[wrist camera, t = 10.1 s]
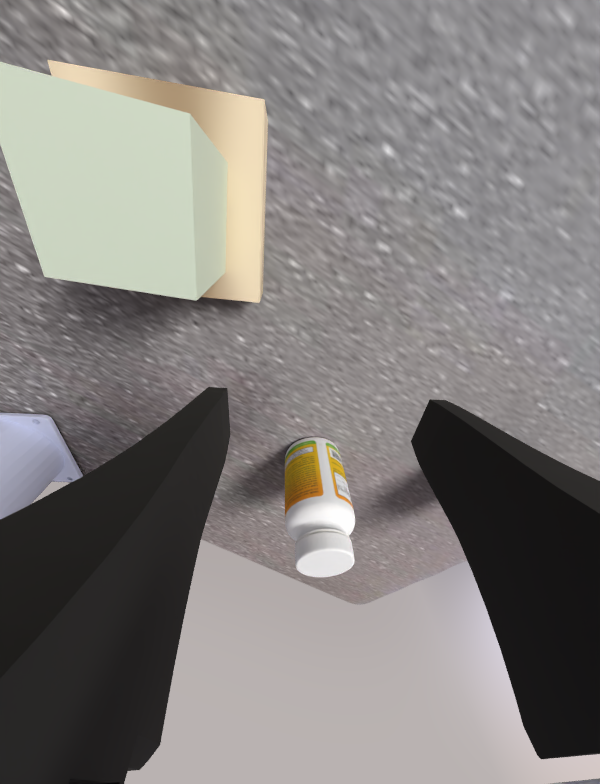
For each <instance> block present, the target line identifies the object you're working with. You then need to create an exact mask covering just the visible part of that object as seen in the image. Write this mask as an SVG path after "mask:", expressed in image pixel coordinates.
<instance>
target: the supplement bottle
mask: <svg viewBox="0 0 600 784" xmlns="http://www.w3.org/2000/svg"><path fill="white" fill-rule="evenodd" d="M285 525H286V529H287V532H288V534H289V535H290V537H291V538H292V539H293V540H295V541H296V543H295V563H296V568H297V570H298V571H299V572H300V573H302V574H304V575H307V576H312V577H329V576H334V575H338V574H341V573H343V572H345V571H347V570H349V569H350V568H351V567H352V566H353V564H354V553H353V548H352V542H351V540H350V538H349V535H350V534H351V532H352V531H353V529H354V526H355V515H354V510H353V506H352V502H351V498H350V494H349V489H348V485H347V481H346V477H345V473H344V469H343V465H342V461H341V457H340V453H339V451H338V448H337V447H336V446H335V445H334V444H333V443H332V442H331V441H329V440H327V439H324V438H319V437H310V438H305V439H301V440H299V441H297V442H295V443H294V444H292V445H291V446H290V448H289V449H288V450H287V452H286V455H285Z"/></svg>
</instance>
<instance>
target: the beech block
mask: <svg viewBox="0 0 600 784" xmlns="http://www.w3.org/2000/svg"><path fill="white" fill-rule="evenodd" d="M48 64H49V67H50V71H51V75H52V76H54V77H57V78H61V79H65V80H68V81H72V82H76V83H79V84H83V85H87V86H91V87H94V88H98V89H102V90H105V91H109V92H113V93H116V94H120V95H124V96H127V97H131V98H135V99H138V100H142V101H146V102H149V103H153V104H157V105H160V106H164V107H168V108H171V109H175V110H179V111H182V112H186V113H190V114H191V116H192V117H193V118H194V120H195V121H196V122H197V123H198V125H199V126H200V127H201V129H202V130H203V131H204V133H205V134H206V135H207V136H208V138H209V139H210V140H211V142H212V143H213V144H214V146H215V147H216V148H217V149H218V151H219V152H220V153H221V155H222V156H223V157H224V159H225V160H226V161H227V162H228V172H227V220H226V269H225V273H224V274H223V275H222V276H221V277H220V278H219V279H218V280H217V281H216V282H215V283H214V284H213V285H212V286H211V287H210V288H209V289H208V290H207V291H206V292H205V293H204V294H203V295H202V296H201V297H208V298H218V299H228V300H237V301H247V302H257V303H259V302H260V299H261V296H262V293H263V262H264V229H265V197H266V164H267V132H268V120H267V113H266V107H265V101H264V99H259V98H253V97H248V96H242V95H237V94H232V93H226V92H221V91H215V90H210V89H204V88H199V87H193V86H188V85H182V84H177V83H171V82H166V81H160V80H155V79H149V78H144V77H138V76H133V75H128V74H122V73H117V72H111V71H106V70H100V69H95V68H89V67H84V66H78V65H73V64H67V63H62V62H56V61H51V60H48ZM110 288H113V287H110Z"/></svg>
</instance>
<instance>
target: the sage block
mask: <svg viewBox="0 0 600 784" xmlns="http://www.w3.org/2000/svg"><path fill="white" fill-rule="evenodd" d="M0 144H1V147H2V150H3V153H4V156H5V159H6V163H7V166H8V169H9V172H10V175H11V178H12V181H13V184H14V187H15V190H16V193H17V196H18V199H19V202H20V205H21V208H22V211H23V214H24V217H25V220H26V223H27V226H28V229H29V232H30V235H31V238H32V241H33V244H34V247H35V250H36V253H37V256H38V259H39V262H40V265H41V268H42V271H43V274H44V277H49V278H55V279H62V280H68V281H74V282H81V283H87V284H94V285H100V286H106V287H113V288H119V289H125V290H132V291H138V292H145V293H151V294H157V295H164V296H170V297H177V298H183V299H189V300H196V301H197V300H198V299H199V298H200V297H201V296H202V295H203V294H204V293H205V292H206V291H207V290H208V289H209V288H210V287H211V286H212V285H213V284H214V283H215V282H216V281H217V280H218V279H219V278H220V277H221V276H222V275H223V274H224V273H225V269H226V220H227V172H228V162H227V161H226V160H225V159H224V157H223V156H222V155H221V153H220V152H219V151H218V149H217V148H216V147H215V146H214V144H213V143H212V142H211V140H210V139H209V138H208V136H207V135H206V134H205V133H204V131H203V130H202V129H201V127H200V126H199V125H198V123H197V122H196V121H195V120H194V118H193V117H192V116H191V114H190V113H186V112H182V111H179V110H175V109H171V108H168V107H164V106H160V105H157V104H153V103H149V102H146V101H142V100H138V99H135V98H131V97H127V96H124V95H120V94H116V93H113V92H109V91H105V90H102V89H98V88H94V87H91V86H87V85H83V84H79V83H76V82H72V81H68V80H65V79H61V78H57V77H54V76H50V75H46V74H43V73H39V72H35V71H32V70H28V69H24V68H21V67H17V66H13V65H10V64H6V63H2V62H0Z"/></svg>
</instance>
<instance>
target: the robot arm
mask: <svg viewBox="0 0 600 784" xmlns="http://www.w3.org/2000/svg"><path fill="white" fill-rule="evenodd" d="M229 438H230V423H229V408H228V393H227V388H213V387H208V388H207V389H206V390H205V391H203V392H202V393H201V394H200V395H199V396H197V397H196V398H195V399H194V400H193V401H191V402H190V403H189V404H188V405H186V406H185V407H184V408H183V409H182V410H180V411H179V412H178V413H177V414H175V415H174V416H173V417H172V418H170V419H169V420H168V421H167V422H165V423H164V424H163V425H161V426H160V427H158V428H157V429H156V430H154V431H153V432H152V433H150V434H149V435H147V436H146V437H145V438H143V439H142V440H140V441H139V442H138V443H136V444H135V445H133V446H132V447H130V448H129V449H127V450H126V451H124V452H123V453H121V454H120V455H118V456H116V457H115V458H113V459H111V460H110V461H108V462H107V463H105V464H103V465H102V466H100V467H98V468H97V469H95V470H93V471H92V472H90V473H88V474H86V475H85V476H83V474H82V473H81V471H80V469H79V467H78V465H77V463H76V461H75V460H74V458H73V456H72V454H71V452H70V450H69V449H68V447H67V445H66V443H65V441H64V439H63V437H62V436H61V434H60V432H59V430H58V428H57V426H56V424H55V423H54V421H53V419H52V418H51V417H50V416H48V415H42V414H19V413H0V784H124V781H125V778H126V774H127V771H131V770H140V769H141V768H142V767H143V766H144V765H145V763H146V762H147V761H148V760H149V759H150V757H151V756H152V755H153V754H154V752H155V751H156V749H157V748H158V747H159V745H160V742H161V736H162V731H163V725H164V719H165V714H166V708H167V703H168V697H169V692H170V686H171V680H172V676H173V670H174V665H175V659H176V654H177V649H178V644H179V639H180V634H181V629H182V624H183V619H184V614H185V609H186V604H187V600H188V595H189V590H190V585H191V581H192V576H193V571H194V567H195V562H196V558H197V554H198V549H199V545H200V540H201V536H202V533H203V529H204V526H205V522H206V519H207V516H208V513H209V510H210V507H211V504H212V500H213V497H214V494H215V491H216V488H217V485H218V482H219V479H220V476H221V472H222V469H223V466H224V463H225V459H226V454H227V449H228V444H229ZM411 443H412V446H413V449H414V451H415V454H416V457H417V460H418V462H419V465H420V467H421V469H422V471H423V473H424V475H425V477H426V479H427V480H428V482H429V484H430V486H431V488H432V490H433V492H434V493H435V495H436V497H437V499H438V501H439V503H440V505H441V506H442V508H443V510H444V512H445V514H446V516H447V517H448V519H449V521H450V523H451V525H452V527H453V529H454V531H455V533H456V535H457V537H458V539H459V541H460V544H461V546H462V548H463V551H464V553H465V556H466V558H467V560H468V563H469V565H470V567H471V570H472V572H473V575H474V577H475V580H476V582H477V585H478V588H479V590H480V593H481V595H482V598H483V601H484V603H485V606H486V609H487V611H488V614H489V617H490V620H491V623H492V626H493V629H494V632H495V634H496V637H497V640H498V643H499V646H500V648H501V652H502V655H503V658H504V661H505V665H506V668H507V671H508V674H509V678H510V681H511V684H512V688H513V691H514V694H515V697H516V700H517V704H518V708H519V712H520V715H521V719H522V722H523V726H524V728H525V730H526V732H527V734H528V736H529V738H530V741H531V743H532V745H533V747H534V749H535V751H536V753H537V755H538V756H539V758H541V759H548V758H560V757H571V756H582V755H593V754H600V481H598V480H596V479H594V478H592V477H590V476H587V475H585V474H583V473H581V472H579V471H577V470H575V469H573V468H571V467H569V466H567V465H565V464H563V463H561V462H559V461H557V460H555V459H553V458H551V457H549V456H547V455H545V454H543V453H541V452H540V451H538V450H536V449H534V448H532V447H530V446H528V445H527V444H525V443H523V442H521V441H519V440H517V439H516V438H514V437H512V436H510V435H509V434H507V433H505V432H503V431H502V430H500V429H498V428H496V427H495V426H493V425H491V424H489V423H488V422H486V421H484V420H482V419H481V418H479V417H477V416H475V415H474V414H472V413H470V412H468V411H466V410H464V409H463V408H461V407H459V406H457V405H455V404H453V403H450V402H448V401H446V400H429V403H428V405H427V407H426V409H425V411H424V414H423V416H422V418H421V420H420V422H419V425H418V427H417V429H416V431H415V434H414V436H413V438H412V440H411ZM52 481H54V482H55V481H56V482H72V483H70V484H68V485H66V486H64V487H62V488H61V489H59V490H57V491H55V492H53V493H51V494H50V495H48V496H46V497H44V498H42V499H40V500H38V501H36V502H35V503H33V504H31V503H32V502H33V501H34V500H35V499H36V498H37V497H38V496H39V495H40V494H41V493H42V491H43V490H44V489H45V488H46V487H47V486H48V485H49V484H50V483H51V482H52ZM30 504H31V505H30ZM553 784H600V779H591V780H582V781H572V782H562V783H553Z"/></svg>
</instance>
